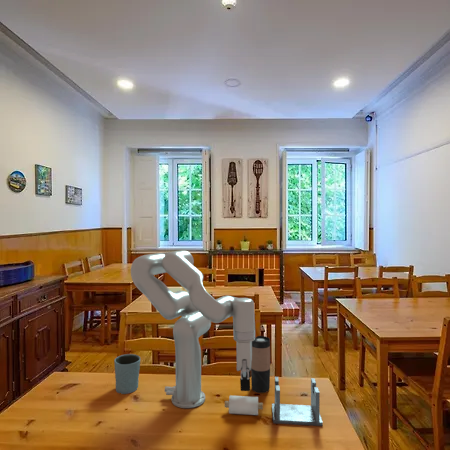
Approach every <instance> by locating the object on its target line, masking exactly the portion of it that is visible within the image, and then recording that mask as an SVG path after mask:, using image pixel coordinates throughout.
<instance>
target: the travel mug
mask: <svg viewBox="0 0 450 450" xmlns="http://www.w3.org/2000/svg"><path fill="white" fill-rule="evenodd" d="M270 383H271V340H270V337H268V336H264V335H258V336H255V340H254V341H252V364H251V378H250V386H251V390H252V391H253V392H254V393H259V394H265V393H268V392H269V391H270V388H271V387H270V386H271V385H270Z"/></svg>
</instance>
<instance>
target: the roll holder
mask: <svg viewBox="0 0 450 450" xmlns="http://www.w3.org/2000/svg"><path fill="white" fill-rule="evenodd" d="M279 381H280V380H279V376H274V403H271V410H272V411H271V412H272V423H273V424H276V425H277V424H278V425H279V424H280V425H281V424H282V425H299V426H313V427H315V426H316V427H323V420H322V419H323V418H322V416H321V413H320V409H321V408H320V402H321V401H320V390H319V387H318V386H317V382H316V378H313V377H311V378H310V405H308V404H306V405H304V404H288V403H287V404H286V403H281V388H280V385H279V384H280V382H279Z"/></svg>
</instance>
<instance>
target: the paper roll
mask: <svg viewBox="0 0 450 450" xmlns="http://www.w3.org/2000/svg"><path fill="white" fill-rule="evenodd" d="M263 407H264V403H263V402H259V396H249V395H248V396H247V395H245V396H243V395H229V399H228V400H225V401H224V408H228V414H231V415H250V416H259V410H263V409H264V408H263Z"/></svg>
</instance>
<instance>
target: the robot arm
mask: <svg viewBox="0 0 450 450" xmlns="http://www.w3.org/2000/svg"><path fill="white" fill-rule="evenodd" d="M194 263H195V262H194V257H193V255H192V254H191V253H190V252H189V251H187V250H184V249H182V250H175V251H165V252H157V253H149V254H144V255H140V256H138V257H136V258H135V259H134V260H133V261H132V263H131V266H130V277H131V280H132V282H133V284H134V286H135V287H136V288H137V289H138V290H139V291H140V292H141V293H142V294H143V295H144V296H145V297H146V298H147V300H148V301H149V302H150V304H151V305H152V306H153V307H154V308H155V309H156V311H157V312H158V313H159V314H160V315H161V317H163V318H164V319H165V320H168V321H170V320H174V319H176V318H178V319H177V320H176V321H175V323H174V325H173V329H172V334H173V335H172V336H173V340H174V347H175V385H173V386H164V392H165V394H166V395H167V396H171V403H172V404H173V405H174V406H175V407H177V408H181V409H193V408H197V407H199V406H201V405H203V404H204V403H205V401H206V393H204V391H202V349H201V345H200V341H199V338H200V337H201V336H202V335H205V334H206V333H207V332H208V331H209V330H210V328H211V325H212V323H213V324H214V323H215V324H219V323H222V322H224V321H225V320H227V319H228V318H231V317H232V321H233V323H232V325H233V330H232V331H233V340H234V342H236V347H235V348H236V371H237V372H240V378H239V379H240V381H239V384H240V391H241V392H250V391H251V364H252V341H254V340H255V338H256V322H255V321H256V320H255V317H256V315H255V302H254V300H253V299H252V298H248V297H235V296H231V295H223V296H220V297H219V298H216V299H215V297H214V296H212V295H211V294H209V292H208V291H207V290H206V288H205V286H204V284H203V281H204V278H205V277H204V274H203V273H202V271H200V270H199V269H198V268H197V267H196V266H194ZM166 273H167V274H168V275H169V276H170V277H171V278H172V279H173V280H175V281H176V282H177V283H178V284H179V285H180V286H181V287H182V288H183V289H184V290H177V291H172V290H171V289H170V288H169V286H167V285H166V284H165V283H164V282H163V281H162V280H160V279H159V278H157V277H156V276H155V275H159V274H166ZM185 290H186V291H185ZM179 317H180V318H179Z"/></svg>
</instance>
